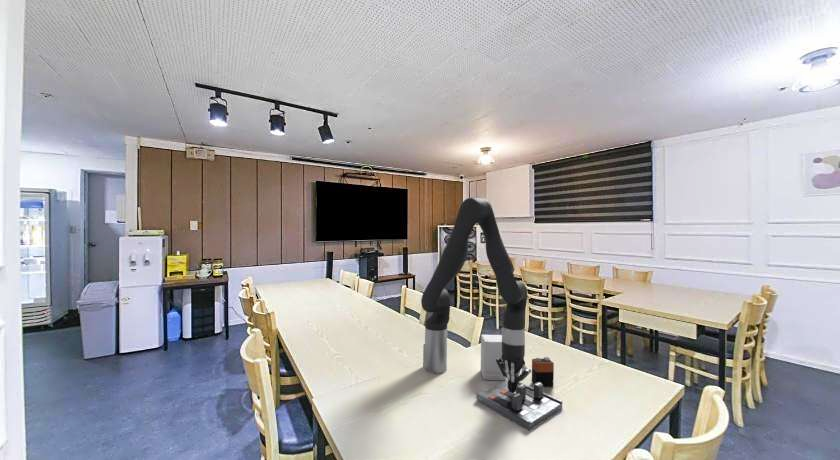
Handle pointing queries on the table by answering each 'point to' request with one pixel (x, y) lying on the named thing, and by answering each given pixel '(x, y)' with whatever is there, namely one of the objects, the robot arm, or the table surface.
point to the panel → (531, 409)
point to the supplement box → (491, 357)
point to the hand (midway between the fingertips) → (512, 391)
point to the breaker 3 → (538, 390)
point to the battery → (543, 371)
